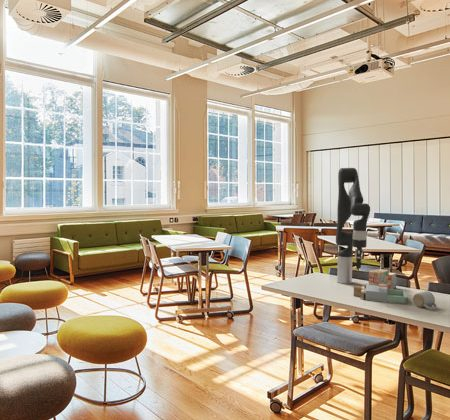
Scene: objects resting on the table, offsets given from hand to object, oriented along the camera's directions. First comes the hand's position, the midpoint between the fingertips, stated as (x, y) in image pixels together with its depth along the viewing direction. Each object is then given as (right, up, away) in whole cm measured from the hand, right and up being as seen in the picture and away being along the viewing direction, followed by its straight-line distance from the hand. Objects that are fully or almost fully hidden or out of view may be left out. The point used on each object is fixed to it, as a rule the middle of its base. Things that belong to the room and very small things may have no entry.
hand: (358, 267), depth 227 cm
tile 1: (+10, -12, -8) cm, 18 cm away
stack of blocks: (+20, -16, +16) cm, 30 cm away
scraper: (-1, -16, +1) cm, 16 cm away
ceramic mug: (+27, -18, -22) cm, 39 cm away
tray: (+18, -17, -7) cm, 26 cm away
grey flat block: (+9, -17, -3) cm, 19 cm away
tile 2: (+13, -12, 0) cm, 18 cm away
